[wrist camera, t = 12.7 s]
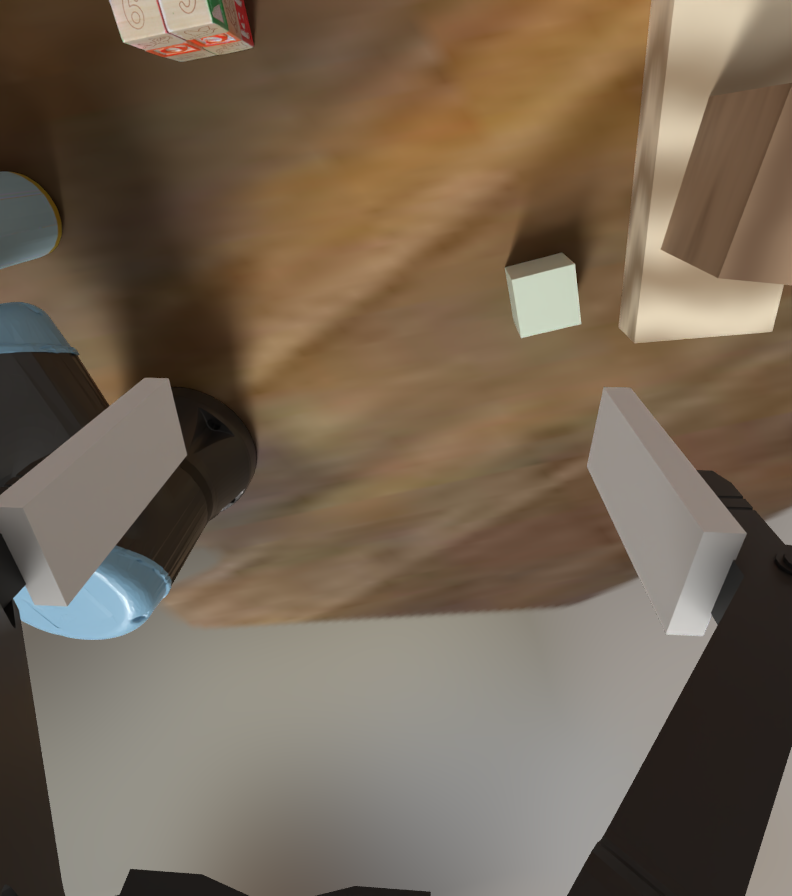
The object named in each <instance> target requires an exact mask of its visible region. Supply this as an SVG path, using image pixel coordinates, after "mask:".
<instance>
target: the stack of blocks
mask: <svg viewBox="0 0 792 896" xmlns="http://www.w3.org/2000/svg"><path fill="white" fill-rule="evenodd" d="M109 2H110V5H111V7H112V11H113V14H114V18H115V20H116V23H117V27H118V30H119V33H120V36H121V39H122V41H123V43H126V44H129V45H132V46H135V47H137V48H140V49H143V50H145V51H146V52H149V53H152V54H155V55H158V56H162V57H166V58H169V59H173V60H176V61H179V62H184V61H189V60H194V59H199V58H204V57H209V56H214V55H221V54H227V53H232V52H237V51H241V50H246V49H249V48H253V47H254V43H253V39H252V35H251V30H250V26H249V21H248V17H247V13H246V8H245V4H244V0H109Z"/></svg>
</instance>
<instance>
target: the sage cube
mask: <svg viewBox="0 0 792 896" xmlns="http://www.w3.org/2000/svg"><path fill="white" fill-rule="evenodd" d="M505 272H506V278H507V284H508V290H509V296H510V302H511V308H512V314H513V320H514V323H515V325H516V327H517V330H518V332H519V334H520V337H521V338H523V337H528V336H532V335H536V334H540V333H545V332H549V331H553V330H557V329H562V328H566V327H570V326H574V325H579V324H581V317H580V308H579V298H578V288H577V278H576V269H575V263H573V262H572V261H571V260H570V259H569V258H568V257H567V256H566V255H564V254H563V253H558V254H554V255H550V256H546V257H543V258H539V259H535V260H531V261H527V262H524V263H520V264H516V265H512V266H508V267H505Z"/></svg>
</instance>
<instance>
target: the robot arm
mask: <svg viewBox="0 0 792 896" xmlns="http://www.w3.org/2000/svg"><path fill="white" fill-rule="evenodd" d="M78 355H79V353H78V351H77V350H76V349H75V348H73V347H71V346H70V345H69V344H68V342H67V341H66V339H65V338H64V337H63V335H62V334H61V332H60V331H59V330H58V328H57V327H56V325H55V324H54V323H53V321H52V320H51V318H50V317H49V316H48V315H47V314H46V313H45V312H44V311H43V310H42V309H40V308H38V307H36V306H34V305H32V304H28V303H23V302H10V303H3V304H0V896H65V893H64V889H63V884H62V879H61V873H60V866H59V860H58V853H57V848H56V842H55V834H54V828H53V822H52V815H51V809H50V803H49V796H48V790H47V784H46V777H45V771H44V765H43V758H42V752H41V746H40V739H39V733H38V726H37V720H36V714H35V707H34V701H33V695H32V689H31V683H30V676H29V669H28V664H27V657H26V651H25V644H24V638H23V631H22V626H21V620H22V621H23V622H25V623H27V624H29V625H32V626H34V627H36V628H38V629H41V630H44V631H46V632H49V633H52V634H58V635H62V636H65V637H69V638H76V639H86V640H91V639H92V640H99V639H109V638H114V637H118V636H122V635H124V634H127V633H129V632H131V631H133V630H135V629H137V628H138V627H139V626H141V625H142V624H143V623H144V622H145V621H146V620H147V619H148V618H149V617H150V615H151V614H152V612H153V611H154V609H155V608H156V607H157V605H158V604H159V603H160V601H161V600H162V599H163V598H164V597H165V596H166V595H167V594H168V593H169V591H170V588H171V585H172V584H173V582H174V580H175V578H176V576H177V575H178V573H179V571H180V570H181V568H182V566H183V564H184V562H185V561H186V559H187V557H188V556H189V554H190V552H191V550H192V549H193V547H194V545H195V543H196V542H197V540H198V538H199V536H200V535H201V533H202V531H203V529H204V528H205V526H206V524H207V523H208V521H210V520H211V519H213V518H214V517H215V516H217V515H218V514H219V513H220V512H221V511H223V510H225V509H227V508H228V507H230V506H231V505H233V504H234V503H235V502H236V501H237V500H238V499H239V498H240V497H241V496H242V495H243V494H244V492H245V490H246V489H247V487H248V485H249V483H250V481H251V480H252V477H253V475H254V472H255V468H256V451H255V446H254V443H253V440H252V438H251V435H250V433H249V432H248V430H247V428H246V427H245V425H244V424H243V422H242V421H241V420H240V419H239V417H238V416H237V415H236V414H235V413H234V412H233V411H232V410H230V409H229V408H228V407H227V406H226V405H224V404H223V403H221V402H220V401H218V400H217V399H215V398H213V397H211V396H209V395H207V394H204V393H202V392H199V391H196V390H192V389H188V388H181V387H171V386H170V382H169V378H144V379H142V380H141V381H140V382H139V383H137V384H136V385H135V386H134V387H133V388H131V389H130V390H129V391H128V392H126V393H125V394H124V395H123V396H121V397H120V398H119V399H118V400H117V401H115V402H114V403H113V404H112V405H110V406H109V404H108V403H107V401H106V400H105V398H104V396H103V395H102V393H101V392H100V390H99V389H98V387H97V385H96V384H95V382H94V381H93V379H92V378H91V376H90V374H89V373H88V371H87V370H86V368H85V367H84V365H83V363H82V362H81V360H80V359H79V357H78ZM587 468H588V470H589V472H590V474H591V476H592V478H593V480H594V483H595V485H596V487H597V489H598V491H599V493H600V495H601V497H602V500H603V502H604V504H605V506H606V508H607V510H608V512H609V514H610V517H611V519H612V521H613V523H614V525H615V527H616V529H617V531H618V534H619V536H620V538H621V540H622V542H623V544H624V546H625V549H626V551H627V553H628V555H629V557H630V559H631V561H632V563H633V566H634V568H635V570H636V572H637V574H638V576H639V578H640V580H641V583H642V585H643V587H644V589H645V591H646V593H647V595H648V597H649V599H650V602H651V604H652V606H653V608H654V610H655V612H656V615H657V616H658V619H659V621H660V623H661V625H662V627H663V629H664V631H665V634H669V635H690V636H704V633H705V631H706V629H707V626H708V624H709V621H710V619H711V617H712V616H713V618H714V619H715V621H716V623H717V624H718V626H717V628H716V630H715V631H714V633H713V635H712V637H711V639H710V641H709V643H708V645H707V646H706V648H705V650H704V652H703V654H702V656H701V658H700V659H699V661H698V663H697V665H696V667H695V668H694V670H693V672H692V674H691V676H690V678H689V679H688V682H687V683H686V685H685V687H684V689H683V691H682V692H681V694H680V696H679V698H678V700H677V702H676V703H675V705H674V707H673V709H672V711H671V713H670V714H669V716H668V718H667V720H666V722H665V724H664V726H663V727H662V729H661V731H660V733H659V735H658V737H657V739H656V740H655V742H654V744H653V746H652V748H651V750H650V751H649V753H648V755H647V757H646V759H645V761H644V762H643V764H642V766H641V768H640V770H639V772H638V774H637V775H636V777H635V779H634V781H633V783H632V785H631V787H630V788H629V790H628V792H627V794H626V796H625V797H624V799H623V801H622V803H621V805H620V807H619V809H618V811H617V813H616V814H615V816H614V818H613V820H612V821H611V824H610V825H609V827H608V829H607V831H606V832H605V834H604V836H603V837H602V839H601V840H600V841H599V842H598V843H597V844H596V846H595V847H594V849H593V850H592V852H591V854H590V855H589V857H588V859H587V861H586V862H585V864H584V866H583V868H582V870H581V872H580V873H579V875H578V877H577V879H576V881H575V882H574V884H573V886H572V888H571V890H570V892H569V893H568V895H567V896H745V894H746V891H747V888H748V884H749V881H750V878H751V875H752V872H753V868H754V865H755V862H756V859H757V855H758V852H759V849H760V846H761V843H762V840H763V836H764V833H765V830H766V827H767V824H768V820H769V817H770V814H771V811H772V808H773V804H774V801H775V798H776V795H777V792H778V788H779V785H780V782H781V779H782V776H783V772H784V769H785V766H786V763H787V759H788V756H789V753H790V750H791V747H792V546H791V545H785V544H784V543H783V542H782V541H781V540H780V538H779V537H778V536H777V535H776V534H775V533H774V532H773V530H772V529H771V528H770V527H769V526H768V525H767V523H766V522H765V521H764V520H763V519H762V518H761V517H760V515H759V514H758V513H757V512H756V511H755V510H753V509H752V508H753V507H752V506H751V505H750V504H749V503H748V502H747V501H746V499H743V496H742V495H741V494H740V492H739V491H738V490H737V489H736V488H735V487H734V486H733V484H732V483H731V482H729V481H727V480H726V479H724V478H723V477H721V476H720V475H718V474H716V473H715V472H713V471H705V470H696V469H695V468H694V467H693V465H692V464H691V463H690V462H689V460H688V459H687V458H686V457H685V455H684V454H683V453H682V452H681V450H680V449H679V448H678V447H677V445H676V444H675V443H674V442H673V440H672V439H671V438H670V437H669V435H668V434H667V433H666V432H665V430H664V429H663V428H662V427H661V425H660V424H659V423H658V422H657V420H656V419H655V418H654V417H653V415H652V414H651V413H650V412H649V410H648V409H647V408H646V406H645V405H644V404H643V403H642V401H641V400H640V399H639V398H638V396H637V395H636V394H635V393H634V391H633V390H632V389H631V388H626V387H604V388H603V393H602V398H601V402H600V407H599V412H598V417H597V421H596V426H595V431H594V436H593V440H592V445H591V450H590V454H589V459H588V464H587ZM430 893H431V892H426V891H413V890H399V889H387V888H374V887H373V888H372V887H360V886H354V887H350V888H345V889H341V890H337V891H333V892H329V893H325V894H321V895H317V896H430V895H431V894H430ZM117 896H248V895H246V894H244V893H242V892H240V891H237V890H235V889H233V888H231V887H228V886H226V885H224V884H222V883H219V882H218V881H215V880H213V879H211V878H209V877H207V876H204V875H202V874H189V873H175V872H163V871H149V870H137V869H130V871H129V874H128V876H127V878H126V881H125V883H124V886H123V888H122V890H121V893H120V895H117Z"/></svg>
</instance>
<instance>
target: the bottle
mask: <svg viewBox="0 0 792 896" xmlns="http://www.w3.org/2000/svg"><path fill="white" fill-rule="evenodd" d="M61 235H62V223H61V219H60V216H59V212H58V210H57V207H56V206H55V204H54V202H53V201H52V199H51V197H50V196H49V195H48V193H47V192H46V191H45V190H44V189H43V188H42V187H41V186H40V185H39V184H38V183H36V182H35V181H33V180H32V179H30V178H29V177H27V176H25V175H22V174H19V173H16V172H0V269H2V268H5V267H9V266H12V265H16V264H19V263H22V262H26V261H29V260H33V259H36V258H39V257H42V256H44V255H47V254H49V253H51V252H52V251H53V250H54V249H55V248H56V247H57V246H58V244H59V242H60V239H61Z"/></svg>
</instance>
